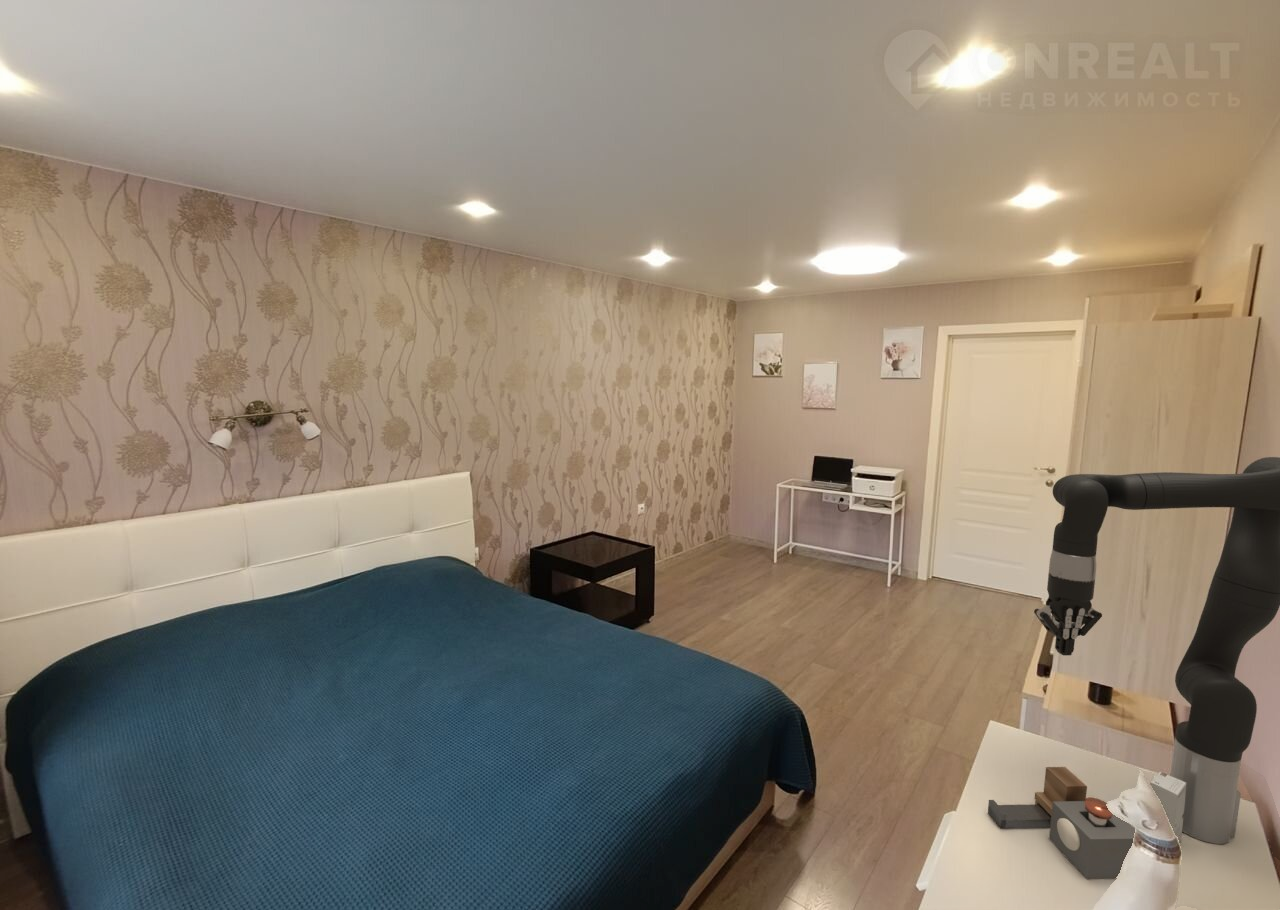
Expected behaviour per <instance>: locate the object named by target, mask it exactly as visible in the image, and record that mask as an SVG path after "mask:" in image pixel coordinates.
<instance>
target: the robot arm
mask: <svg viewBox="0 0 1280 910" xmlns="http://www.w3.org/2000/svg"><path fill="white" fill-rule="evenodd" d="M1052 496H1053V498H1054V499H1055V501H1056V502H1057V503H1058V504H1059V505H1061V506H1062V507H1064V508H1063V509H1064V511H1063V515H1062V519H1061V522H1059V523H1057V524H1056V525H1055V527H1054V531H1053V539H1052V550H1051V554H1050V557H1049V566H1048V577H1047V586H1046V590H1047V593H1048V598H1047V599H1046V601H1045V605H1044V606H1043V607H1042V608H1041V609H1039V608H1035V609H1034V610H1033V613H1034V615H1035V616H1036V618H1037V619H1038V620H1039V622H1040V623H1041V624H1042V626H1043V627H1044V628H1045V630H1046V631H1047V632H1048V633H1051V634H1053V635H1054V636H1055V642H1054V643H1055V644H1054V648H1055V651H1056V652H1057V653H1058V654H1060V655H1062V656H1072V655H1073V652H1074V650H1075V640H1076V639H1077V638H1078V637H1079V636H1082V637H1084V636H1086V635H1087V634H1088V633H1089V631H1091V630H1092V628H1093V627H1094V626H1095V625H1096V624H1097V623H1098V621H1100V619H1102V617H1103V614H1102V612H1099V611H1098V610H1095V609H1094V608H1093V607H1092V606H1093V605H1092V602H1091V601H1092V600H1093V599H1094V596H1095V595H1094V593H1095V585H1096V576H1097V551H1098V549H1097V548H1098V537H1099V532H1100V530H1101V528H1102V525H1103V523H1104V520H1105V518H1106V515H1107V512H1108V508H1109V507H1111V508H1117V509H1118V508H1119V509H1123V510H1128V511H1129V510H1130V511H1137V510H1138V511H1140V510H1141V511H1142V510H1166V509H1168V510H1169V509H1190V508H1191V509H1192V508H1193V509H1194V508H1195V509H1196V508H1233V512H1232V518H1231V523H1230V526H1229V528H1228V529H1229V530H1228V533H1227V536H1226V539H1225V541H1224V545H1223V548H1222V551H1221V555H1220V558H1219V561H1218V564H1217V566H1216V568H1215V571H1214V573H1213V576H1212V580H1211V583H1210V585H1209V589H1208V592H1207V595H1206V599H1205V603H1204V605H1203V609H1202V612H1201V615H1200V618H1199V620H1198V625H1197V627H1196V630H1195V633H1194V636H1193V637H1192V640H1191V642H1190V644H1189V646H1188V648H1187V650H1186V652H1185V654H1184V656H1183V657H1182V659H1181V661H1180V664H1179V665H1178V668H1177V670H1176V673H1175V678H1174V681H1175V682H1174V683H1175V687H1176V689H1177V690H1178V692H1179V694H1180V695H1181V696H1182V698H1183V699H1185V701H1186V702H1187V703H1189V705H1190V710H1189V715H1188V720H1185V721H1180V722H1179V723H1178V724H1177V725H1176V729H1175V734H1174V735H1175V736H1174V742H1173V753H1172V757H1171V758H1172V761H1171V768H1170V773H1169V774H1170V775H1169V776H1172V777H1174V778H1177V779H1179V780H1181V781H1184V782H1186V794H1185V806H1184V816H1183V827H1182V833H1185V834H1187V835H1189V836H1190V837H1191V838H1192V837H1193V838H1195V839H1197V840H1200V841H1203V842H1206V843H1211V844H1216V845H1220V844H1221V845H1224V844H1227V843H1229V841H1230V839H1231V838H1235V837H1236V830H1237V823H1238V817H1239V810H1240V803H1241V797H1242V795H1241V792H1240V791H1239V790H1238V786H1239V778H1240V777H1239V776H1240V771H1241V770H1240V769H1241V765H1242V764H1241V763H1242V757H1243V753H1244V752H1245V751H1246V750H1247V748H1249V746H1250V744H1251V741H1252V736H1253V732H1254V728H1255V727H1254V726H1255V723H1256V718H1257V709H1258V708H1257V707H1258V706H1257V705H1258V704H1257V700H1256V697H1255V695H1254V693H1253V692H1252V690H1251V689H1250V688H1249V687H1247V685H1246V684H1244V683H1243V682H1241V680H1239V679H1238V678H1237V677H1236V670H1237V666H1238V665H1237V664H1238V662H1239V659H1240V655H1241V652H1242V651H1243V649H1244V647H1245V645H1247V643H1248V642H1249V641H1251V639H1253V638H1254V637H1255V636H1256V635H1257V634H1259V633H1261V632H1262V631H1263V630H1264V629H1265V628H1266V627H1267V626H1269V624H1270V623H1271V622H1272V621H1273V620H1274V619H1275V617H1276V616H1277V613H1278V611H1279V610H1280V457H1279V456H1267V457H1262V458H1259V459H1257V460H1255V461H1253V462H1251V463H1250V464H1249V465H1247V466H1246V468H1244V470H1243V472H1242V473H1226V474H1225V473H1221V474H1219V473H1197V472H1196V473H1195V472H1192V473H1191V472H1174V471H1172V472H1166V471H1165V472H1162V471H1161V472H1142V473H1141V472H1140V473H1129V474H1099V473H1098V474H1095V473H1094V474H1093V473H1083V474H1082V473H1077V474H1069V475H1065V476H1062V477H1060V478H1059V479H1058V480H1057V481H1055V483H1054V484H1053V487H1052Z"/></svg>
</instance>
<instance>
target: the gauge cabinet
mask: <svg viewBox="0 0 1280 910" xmlns="http://www.w3.org/2000/svg"><path fill="white" fill-rule="evenodd" d="M1088 815H1089V812H1088V811H1087V810H1086V809H1085V801H1058V802H1053V804H1052V814H1051V824H1050V828H1049V835H1048V839H1049V840H1050V841H1051V843H1052V844H1053V845H1054V846H1055V847H1056V848H1057V849H1058V850H1059V852H1060V853H1062V855H1064V857H1065V858H1066V859H1067V860H1068V861H1069V862H1070V863H1071V865H1072V866H1073V867H1074V868H1076V870H1077V871H1078V872H1079V873H1080V874H1081V876H1083V877H1084V879H1086V880H1103V879H1104V880H1116V879H1115V878H1116V877H1117V876H1118V874H1119V873H1120V870H1121V867H1122V864H1123V861H1124V859H1125V857H1126V855H1127V853H1128V851H1129V849H1130V848H1131V846H1132V843H1133V838H1134V833H1135V829H1136V828H1135V827H1134V826H1133V825H1132V824H1130V823H1129V822H1128V821H1127V822H1128V823H1127V822H1125V821H1123V820H1121V819H1120V818H1118V817H1116V816H1115V815H1112V818H1111V819H1109V820H1107V822H1106V827H1094V826H1093V825H1092V824H1091V823H1090V822H1089V821H1088Z"/></svg>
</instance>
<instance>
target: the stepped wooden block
mask: <svg viewBox="0 0 1280 910" xmlns="http://www.w3.org/2000/svg"><path fill="white" fill-rule="evenodd" d="M1044 773H1045V775H1044V786H1043V791H1035V792H1034V804H1040V805H1041V806H1042V807H1043V808H1044V809H1045V810H1046V811H1047V812H1048V813H1049V814H1050V815H1051V814H1052V804H1053V802H1058V801H1085V799H1086V798H1087V790H1088V785H1086V784H1085V783H1084V782H1083V781H1082V780H1081V779H1079V778H1078V777H1077V776H1076V775H1075V774H1074V773H1073V772H1072V771H1070V770H1069V769H1068V768H1067V767H1066V766H1046V767H1045V772H1044Z"/></svg>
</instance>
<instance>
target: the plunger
mask: <svg viewBox="0 0 1280 910" xmlns="http://www.w3.org/2000/svg"><path fill="white" fill-rule="evenodd" d="M1106 804H1108V802H1106V801H1104V800H1102V799H1099V798H1096V797H1086V799H1085V809H1086V810H1087V811H1088V812H1089V815H1088V821H1089V822H1090V823H1091V824H1092V825H1093V826H1094V827H1106V822H1107V820H1109V819H1111V818H1112V815H1113V814H1112V813H1111V812H1110V811H1109V810H1108V808H1107V806H1106Z"/></svg>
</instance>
